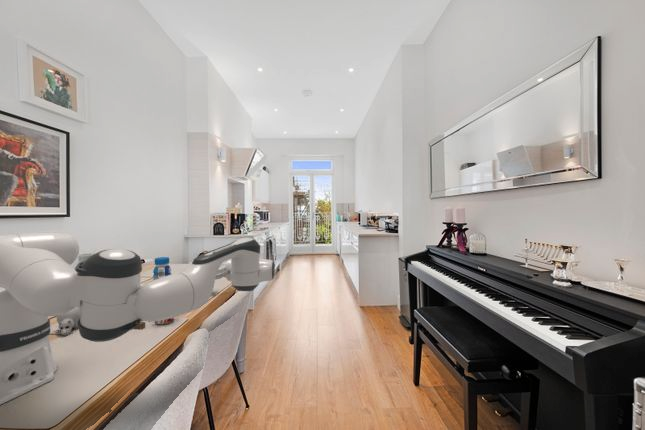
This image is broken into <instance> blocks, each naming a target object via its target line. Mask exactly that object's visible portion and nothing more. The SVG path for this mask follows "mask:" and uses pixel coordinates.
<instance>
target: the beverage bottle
mask: <svg viewBox="0 0 645 430" xmlns="http://www.w3.org/2000/svg"><path fill="white" fill-rule="evenodd" d="M169 264H170V257H169V256H161V257H155V258H154V265H155V266H154V267H153V270H152V271H153V272H152V273H153V275H152V279H153V280H156V279H159V278H162V277H165V276H168V275H172V269H171V267H170V265H169ZM153 280H152V281H153Z"/></svg>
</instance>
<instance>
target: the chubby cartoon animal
mask: <svg viewBox="0 0 645 430" xmlns="http://www.w3.org/2000/svg"><path fill="white" fill-rule="evenodd" d="M79 319H80V307H75V308H73V309H72V310H70V311H69V312H67V313H64V314H61V315H58V316H56V322H57V324H58V327H57V328H58V330H59V331H60V334H61V335H62V336H68V335H70V334H71V332H72V329H75V330H76V329H79V327H78V320H79Z"/></svg>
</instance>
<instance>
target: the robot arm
mask: <svg viewBox="0 0 645 430" xmlns="http://www.w3.org/2000/svg"><path fill="white" fill-rule="evenodd" d="M79 254H80V245H79V243H78V241H77V240H76V239H75V237H74V236H73V235H71V234H69V233H61V232H52V231H51V232H49V231H48V232H47V231H45V232H31V233H16V234H15V233H13V234H0V288H3V289H4V290H2V291H0V405H2V404H5V403H6V402H9V401H11V400H13V399H15V398H18V397H20V396H22V395H23V394H26V393H27V392H30V391H32V390H34V389H36V388H38V387H40V386H43V385H45V384H46V383H48V382H50V381H52V380H53V379H55V376H54V374H55V372H56V371H57V370H58V365H57V363H56V361H55V359H54V355H53V352H52V349H51V342H50V337H49V336H50V334H51V321H50V319H48V317H57V316H58V315H61V314H64V313H67V312H69V311H70V310H72V309H73V308H75V307H78V308H80V319H79V320H78V327H79V328H78V332H79V336H81V338H83V339H85V340H87V341H90V342H95V343H99V342H100V343H102V342H108V341H109V342H110V341H112V340H115V339H117V338H120V337H122V336H124V335H125V334H127V333H128V332H129V331H132V330H134V329H133V328H135V327H136V326H138V325H139V323H140V322H145V323H146V322H147V323H152V322H154V323H155V321H160V320H166V319H170V318H174V319H175V318H177V317H179V316H183V315H185V314H189V313H192V312H194V311H196V310H198V309H199V308H201V307H203V306H204V305H205V304H206V303H207V302H208V301H209V300H210V298H211V296H212V294H213V292H214V286H215V282H216V280H220V279H222V278H225V279H226V280H227V281H228V282H231V286H232V287H233V289H235V290H236V291H237V292H253V291H254V290H255V289H257V287H258V286H259V285H260V283H262V282H263V283H264V282H271V281H273V280H274V278H275V275H276V273H275V272H276V271H275V270H276V269H275V267H276V266H275V262H274V260H272V259H266V258H260V255H261V245H260V243H259V242H258V241H257V240H256V239H255V238H251V237H242V238H241V237H240V238H239V239H236V240H233V241H232V242H230V243H228V244H225V245H222V246H221V247H217V248H215V249H212V250H209V251H207V252H204V253H202V254H200V255H198V256H196V257H195V258H194V259H193V260H192V262H191V263H190V264H189V266H187V267H186V268H185V269H184V270H182V271H179V272H177V273H171V275H168V276H165V277H162V278H159V279H156V280H151V281H149V282H147V283H141V272H142V271H143V267H142V265H143V264H142V259H141V256H140V255H139V254H137V253H136V252H134V251H132V250H128V249H123V248H122V249H121V248H112V249H111V248H110V249H105V250H100V251H98V252H96V253H94V254H91V255H90V256H89V257H87V259H85V260H83V261H80V262H78V263H77V265H76V266H75V267H73V266H72V264H73V263H75V261H76V260H77V258H78V257H79ZM137 322H138V323H137Z"/></svg>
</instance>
